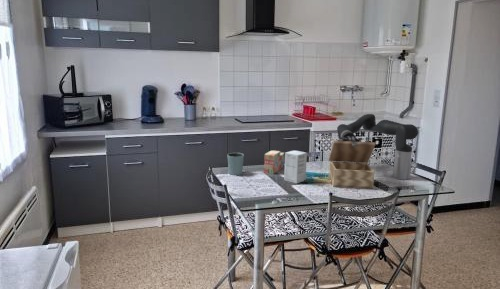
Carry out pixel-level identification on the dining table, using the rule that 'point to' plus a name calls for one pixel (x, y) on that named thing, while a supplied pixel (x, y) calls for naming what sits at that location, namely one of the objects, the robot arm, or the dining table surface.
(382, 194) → the dining table surface
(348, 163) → the oak box
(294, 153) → the supplement box
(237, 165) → the green cup
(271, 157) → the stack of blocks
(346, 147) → the box lid
